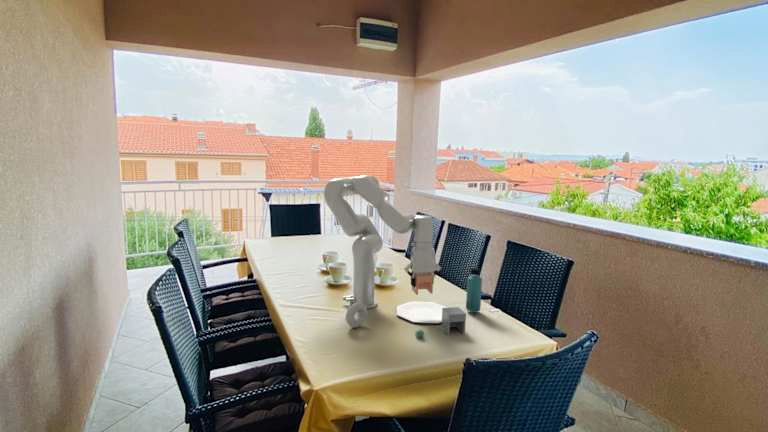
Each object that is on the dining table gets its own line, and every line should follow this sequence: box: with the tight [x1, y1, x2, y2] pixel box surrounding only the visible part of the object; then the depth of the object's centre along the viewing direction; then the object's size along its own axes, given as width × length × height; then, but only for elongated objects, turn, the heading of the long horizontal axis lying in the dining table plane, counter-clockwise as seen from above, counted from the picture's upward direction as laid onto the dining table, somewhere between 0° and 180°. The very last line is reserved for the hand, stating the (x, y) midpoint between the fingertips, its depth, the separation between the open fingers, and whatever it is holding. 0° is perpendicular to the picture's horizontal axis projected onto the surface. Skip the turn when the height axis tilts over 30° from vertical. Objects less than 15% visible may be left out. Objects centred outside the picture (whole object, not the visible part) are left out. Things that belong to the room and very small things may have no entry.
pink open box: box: [411, 272, 434, 296], centre depth 170 cm, size 7×7×8 cm
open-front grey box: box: [441, 306, 467, 336], centre depth 157 cm, size 7×7×8 cm
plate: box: [396, 300, 448, 325], centre depth 173 cm, size 24×24×2 cm
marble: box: [415, 329, 425, 339], centre depth 150 cm, size 3×3×3 cm
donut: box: [345, 303, 368, 329], centre depth 157 cm, size 10×3×10 cm, turn 132°
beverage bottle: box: [465, 267, 483, 313], centre depth 175 cm, size 6×7×20 cm
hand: (422, 285), depth 170 cm, fingers closed on pink open box, 7 cm apart
